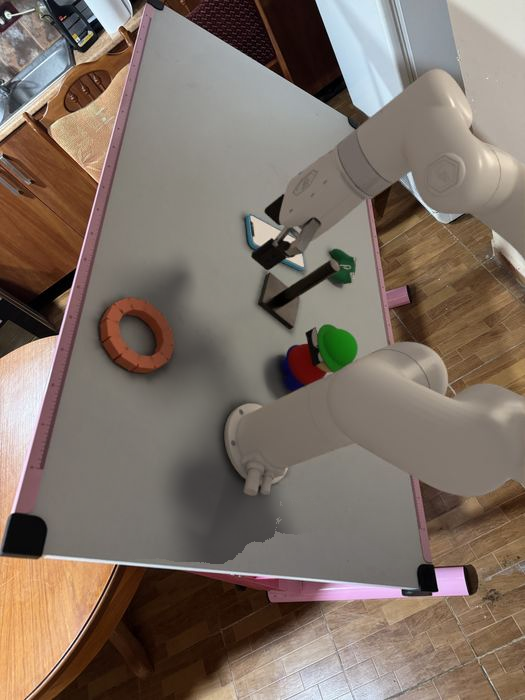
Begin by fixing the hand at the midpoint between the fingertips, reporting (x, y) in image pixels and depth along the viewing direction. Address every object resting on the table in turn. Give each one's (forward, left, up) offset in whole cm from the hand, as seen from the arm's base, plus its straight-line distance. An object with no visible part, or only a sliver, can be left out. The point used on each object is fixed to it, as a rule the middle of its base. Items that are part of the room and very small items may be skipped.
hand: (265, 239), depth 76 cm
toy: (-1, -22, -18) cm, 28 cm away
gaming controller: (+34, -30, -18) cm, 49 cm away
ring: (-13, +5, -18) cm, 22 cm away
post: (+13, -17, -18) cm, 28 cm away
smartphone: (+26, -13, -18) cm, 35 cm away
